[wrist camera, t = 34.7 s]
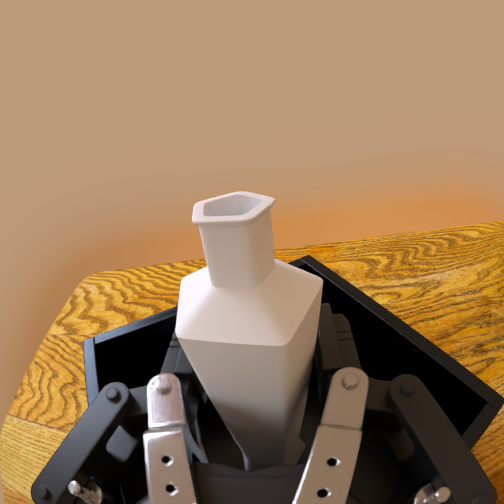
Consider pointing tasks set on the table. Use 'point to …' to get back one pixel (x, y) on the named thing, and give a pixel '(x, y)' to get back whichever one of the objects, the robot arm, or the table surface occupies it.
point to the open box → (372, 363)
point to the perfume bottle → (250, 328)
